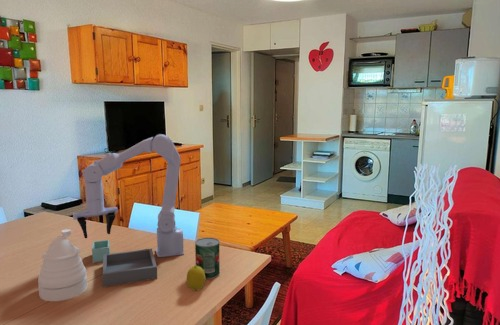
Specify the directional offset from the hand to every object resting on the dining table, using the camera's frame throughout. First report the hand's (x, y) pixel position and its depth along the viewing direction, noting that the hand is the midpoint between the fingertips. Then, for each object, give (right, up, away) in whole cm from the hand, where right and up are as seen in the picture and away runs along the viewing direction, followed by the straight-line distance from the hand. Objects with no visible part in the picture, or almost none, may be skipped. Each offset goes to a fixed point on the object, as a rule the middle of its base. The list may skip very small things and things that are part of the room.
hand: (97, 235), depth 132 cm
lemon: (+38, -13, -22) cm, 46 cm away
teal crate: (+1, -9, +3) cm, 9 cm away
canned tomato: (+41, -11, -10) cm, 43 cm away
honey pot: (-1, -12, -21) cm, 25 cm away
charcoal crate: (+15, -10, -9) cm, 20 cm away
